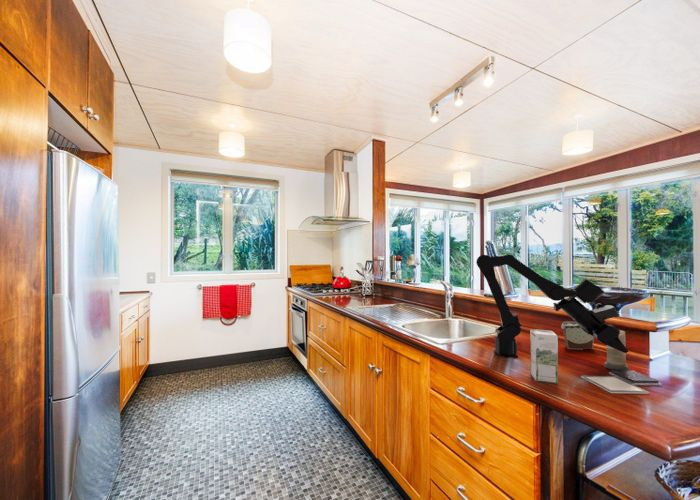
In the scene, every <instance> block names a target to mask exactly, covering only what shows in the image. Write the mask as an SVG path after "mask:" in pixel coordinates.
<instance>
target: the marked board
mask: <svg viewBox="0 0 700 500" xmlns="http://www.w3.org/2000/svg"><path fill="white" fill-rule="evenodd" d="M580 378H582V379H583V380H585V381H587V382H589V383H591V384H593V385H594V386H597V387H599V388H600V389H602V390H604V391H606V392H608V393H610V394H636V395H637V394H641V395H642V394H644V395H645V394H646V395H647V394H648V395H649V394H650V391H648V390H647V389H644V388H641V387H639V386H638V385H633V384H631V383H629V382H626V381H624V380H622V379H620V378H618V377H615V376H612V375H580Z"/></svg>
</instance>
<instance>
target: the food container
mask: <svg viewBox="0 0 700 500" xmlns="http://www.w3.org/2000/svg"><path fill="white" fill-rule="evenodd" d="M560 329H562V330H563V340H564V345H565V349H568V350H583V349H593V350H594V339H595V337H594V336H592V335H590V334H588V333H586V332H585V331H583V330H582V329H581V328H580V327H579V324H578V323H577V322H576V321H563V322H562V323H561V326H560Z"/></svg>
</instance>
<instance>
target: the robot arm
mask: <svg viewBox="0 0 700 500" xmlns="http://www.w3.org/2000/svg"><path fill="white" fill-rule="evenodd" d="M475 263H476V265H477V267H478V268H479V271H480V273H482V275H483V277H484V278H485V280H486V282H487V285H488V287H489V290H490V292H491V294H492V297H493V299H494V302H495V305H496V307H497V309H498V311H499V317H500V318H499V319H500V322H501V323H500V324H501V325H500V326H499V327H498V328H496V335H497V336H495V337H494V343H495V345H494V346H495V347H494V349H493V350H492V351H493V352H494V353H495V354H497V355H498V356H499V357H504V358H505V357H507V358H519V355H518V343H517V342H516V341H517V340H516V337H517V336H519V335H520V333H521V332H522V330H521V327H522V326H523V325H522V323H521V322H520V320H519V317H518V314H517V312H513V313H512V311H511V310H510V308H509V305H508V303H507V300H506V298H505V296H504V293H503V291H502V288H501V287H500V286H501V285H500V283H499V281H498V279H497V276H496V270H495V266H496V267H498V266H508V267H510V268H511V269H513V270H514V271H516V273H518V274H520V275H521V276H522V277H523V278H526V280H528V281H529V282H531V283H532V284H533V285H535V287H537V289H538V290H539V291H540V292H541V293H543V295H545V297H546V298H548V299H550V300H552V301H554V302H553V303H552V304H553V310H554V311H555V312H559V311H560V310H562V311H563V312H564V313H566V315H568V316H569V317H570V318H571V319H572V320H573V322H577V323H578V324H579V327H580V328H581V329H582V330H583V331H585V332H586V333H588V334H590V335H592V336H594V339H595V340H597V341H598V342H599V343H601V344H603V345H605V346H606V347H607V346H610V347H612V348H614V349H617V350H619V351H621V352H624V353H626V354H627V353H628V352H629V349H627V347H626V345H625V346H624V345H623V343H622V342H621V341H620V339H619V334H620V331H619V330H620V329H618V328H617V327H616V326H614V325H612V324H610V323H609V324H608V323H606V322H607V321H606V320H609V319H612V318H617V317H619V316H620V315H619V312H618V311H617V310H616V308H615V306H614V305H611V304H606V305H604V304H602V303H596V304H595V305H594V308H593V309H590V308H588V307H586V306H585V305H584V304H587V303H588V304H592V303H594V302H595V301H596V300H597V299H599V298H600V297H601V296H602V295H604V294H605V291H604V289H602V288H601V287H599V286H598V285H596V284H595V283H593V282H592V281H590V280H588V279H587V278H584V279H583V280H581V282H580V283H579V284H577V285H576V286H574V287H573V288H569V287H564V286H562V285H560V284H558V283H556V282H554V281H552V280H550V279H548V278H546V277H543V276H542V275H540V274H539V273H538V272H536V271H534V270H533V269H531V268H530V267H528V266H527V265H525V264H524V263H523V262H522V261H520V260H518V259H517V258H516V257H515V255H512V254H505V255H497V256H489V255H488V254H481V255H480V256H478V257H477V258H476V262H475Z"/></svg>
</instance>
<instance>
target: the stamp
mask: <svg viewBox="0 0 700 500" xmlns="http://www.w3.org/2000/svg"><path fill="white" fill-rule="evenodd" d="M618 330H619V331H620V334H619V339H620V341H621V342H622V343H623V345H624V346H625V347H626V331H625V330H621V329H618ZM626 354H627V353H624V352H621V351H619V350H617V349H614V348H612V347H610V346H607V345H606V361H604V362H603V363H604V364H603V365H604V368H606V369H607V370H610V371H630V366H628V365H627V360H626V359H627V358H626V356H627V355H626Z"/></svg>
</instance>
